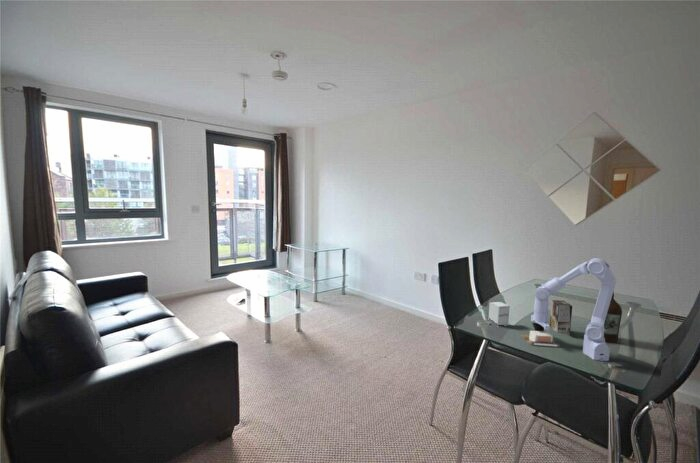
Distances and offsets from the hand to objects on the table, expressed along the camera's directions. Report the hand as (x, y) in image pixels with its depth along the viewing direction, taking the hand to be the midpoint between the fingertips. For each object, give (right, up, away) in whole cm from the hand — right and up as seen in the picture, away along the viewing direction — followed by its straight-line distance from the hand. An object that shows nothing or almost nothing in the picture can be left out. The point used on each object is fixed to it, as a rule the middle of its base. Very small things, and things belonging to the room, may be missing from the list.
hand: (538, 338), depth 149 cm
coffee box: (+19, -2, +13) cm, 23 cm away
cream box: (-1, -1, -3) cm, 3 cm away
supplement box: (-10, 0, +20) cm, 22 cm away
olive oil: (+37, -3, +6) cm, 38 cm away
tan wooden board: (0, -2, -1) cm, 2 cm away
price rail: (-1, -1, -6) cm, 7 cm away
